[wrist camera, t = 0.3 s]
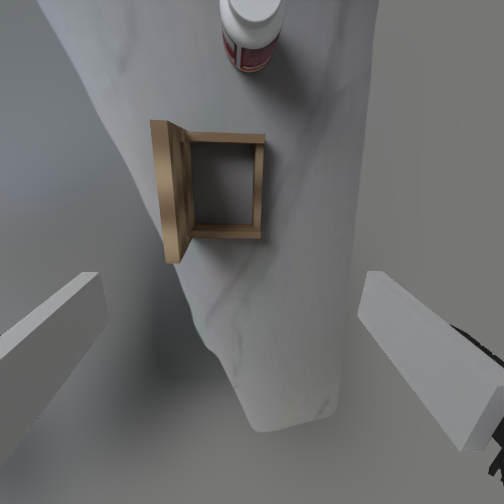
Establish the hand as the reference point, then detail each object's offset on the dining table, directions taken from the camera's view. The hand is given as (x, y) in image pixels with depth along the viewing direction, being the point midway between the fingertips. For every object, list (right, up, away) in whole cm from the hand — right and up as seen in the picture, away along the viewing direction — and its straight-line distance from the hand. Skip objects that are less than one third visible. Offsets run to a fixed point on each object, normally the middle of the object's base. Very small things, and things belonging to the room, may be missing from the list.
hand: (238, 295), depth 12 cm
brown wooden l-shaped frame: (-4, +12, +24) cm, 27 cm away
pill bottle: (0, +28, +18) cm, 33 cm away
